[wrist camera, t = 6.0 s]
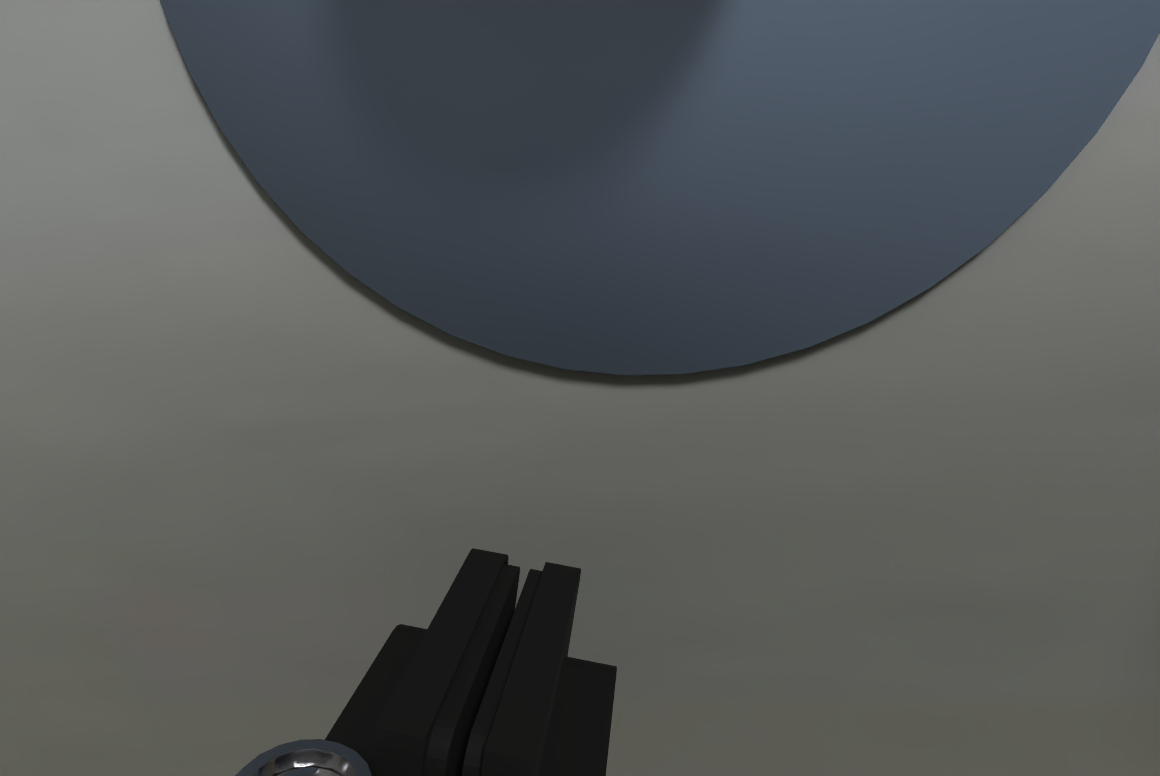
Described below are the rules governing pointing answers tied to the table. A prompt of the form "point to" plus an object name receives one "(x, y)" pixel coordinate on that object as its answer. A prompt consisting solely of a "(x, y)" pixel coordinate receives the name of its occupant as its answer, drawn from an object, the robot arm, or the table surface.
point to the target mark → (657, 154)
